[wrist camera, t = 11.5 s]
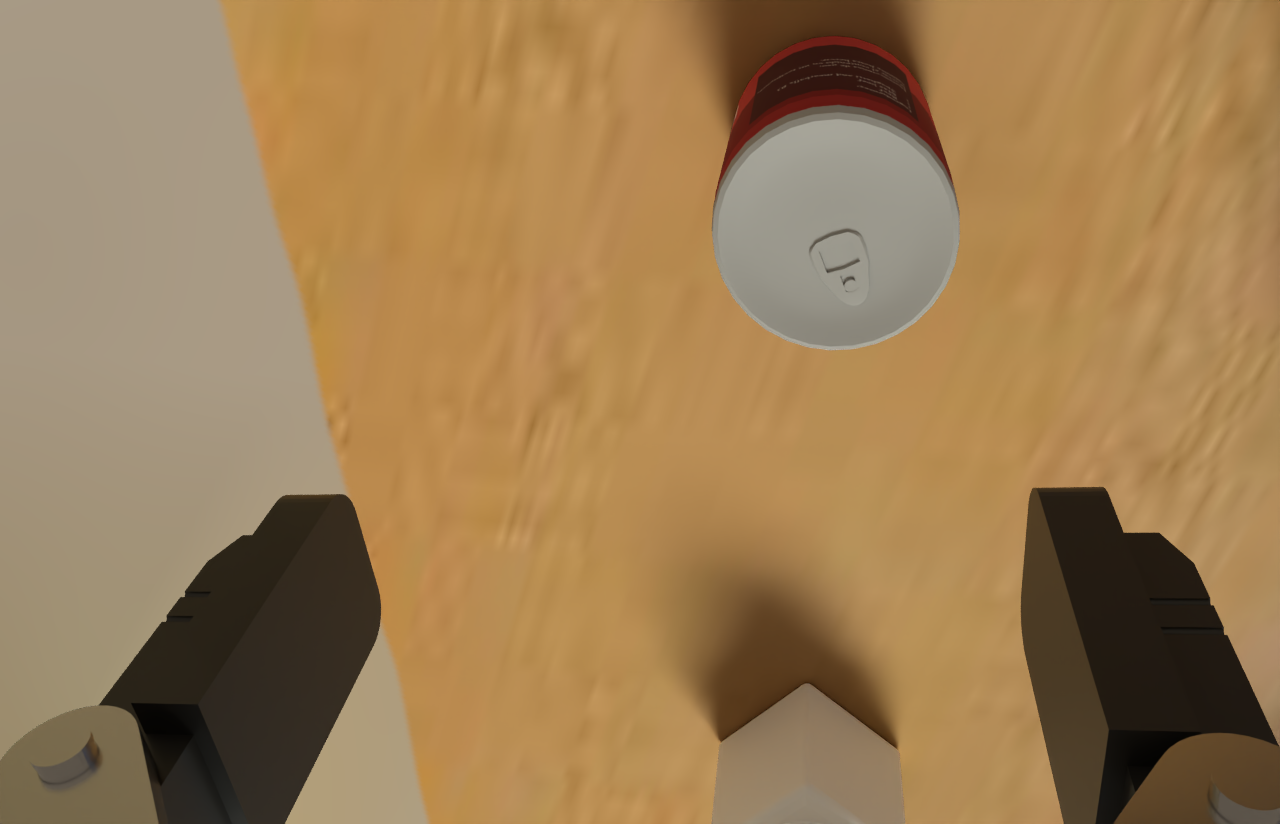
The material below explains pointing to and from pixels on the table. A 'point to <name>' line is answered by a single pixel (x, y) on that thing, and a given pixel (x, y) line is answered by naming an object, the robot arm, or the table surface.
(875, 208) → the canned food
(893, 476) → the table surface
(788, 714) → the medicine bottle
